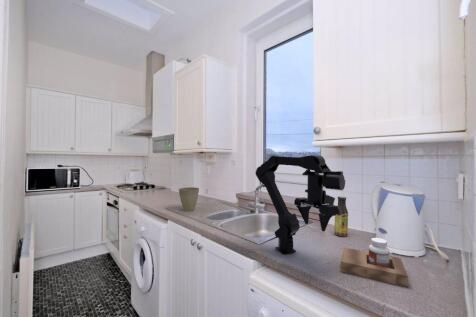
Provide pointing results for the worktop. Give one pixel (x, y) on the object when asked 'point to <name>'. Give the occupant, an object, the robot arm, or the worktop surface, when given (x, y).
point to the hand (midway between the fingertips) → (314, 227)
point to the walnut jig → (373, 267)
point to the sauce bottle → (341, 218)
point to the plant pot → (189, 197)
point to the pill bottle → (379, 253)
